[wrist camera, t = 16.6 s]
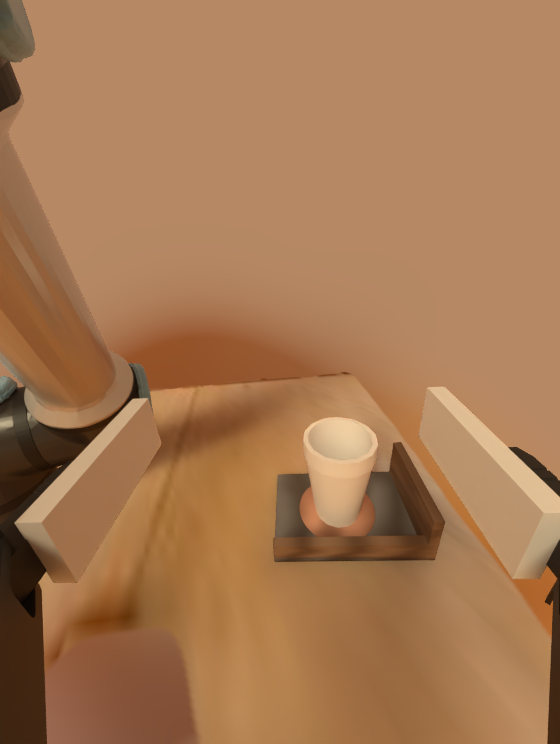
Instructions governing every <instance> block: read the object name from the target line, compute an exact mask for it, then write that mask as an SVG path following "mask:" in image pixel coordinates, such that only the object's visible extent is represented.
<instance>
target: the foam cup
mask: <svg viewBox="0 0 560 744" xmlns="http://www.w3.org/2000/svg"><path fill="white" fill-rule="evenodd" d="M303 447H304V457H305V459H306V462H307V467H308V472H309V478H310V483H311V488H312V493H313V498H314V503H315V508H316V512H317V514H318V516H319V518H320V519H321V520H322V521H324V522H325V523H326V524H327V525H330V526H334V527H337V528H340V527H348V526H350V525H351V524H353V523H354V522H356V519H357V517H358V515H359V512H360V509H361V506H362V503H363V499H364V496H365V492H366V489H367V485H368V482H369V478H370V475H371V471H372V468H373V466H374V464H375V462H376V460H377V451H378V442H377V438H376V434H375V433H374V432H373V431H372V430H371V429H370V428H369V427H368V426H367V425H365V424H362V423H360V422H358V421H356V420H353V419H348V418H341V417H333V418H324V419H321V420H319V421H316V422H314V423H312V424H311V425H310V426H309V427H308V428H307V429H306V430H305V431H304V440H303Z"/></svg>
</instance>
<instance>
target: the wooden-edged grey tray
mask: <svg viewBox="0 0 560 744" xmlns="http://www.w3.org/2000/svg"><path fill="white" fill-rule="evenodd" d="M444 524H445V521H444V519H443V517H442V515H441V514H440V512H439V510H438V508H437V506H436V505H435V503H434V501H433V499H432V497H431V496H430V494H429V492H428V490H427V488H426V486H425V485H424V483H423V481H422V479H421V477H420V476H419V474H418V472H417V470H416V468H415V467H414V465H413V463H412V461H411V459H410V458H409V456H408V454H407V452H406V450H405V448H404V447H403V445H402V443H401V442H398V443H393V450H392V458H391V465H390V472H371V475H370V478H369V482H368V485H367V489H366V492H365V496H364V499H363V503H362V506H361V509H360V512H359V515H358V517H357V519H356V522H354V523H353V524H351V525H350V526H348V527H340V528H337V527H334V526H330V525H327V524H326V523H325V522H324V521H322V520H321V519H320V518H319V516H318V514H317V512H316V508H315V503H314V498H313V493H312V488H311V483H310V478H309V474H286V475H278V482H277V506H276V530H275V538H274V540H273V550H274V559H275V562H297V561H383V560H435V557H436V553H437V550H438V546H439V542H440V539H441V535H442V531H443V528H444Z"/></svg>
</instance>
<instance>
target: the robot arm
mask: <svg viewBox="0 0 560 744" xmlns="http://www.w3.org/2000/svg"><path fill="white" fill-rule="evenodd" d="M34 50H35V43H34V38H33V35H32V30H31V27H30V24H29V20H28V17H27V14H26V11H25V8H24V6H23V3H22V0H0V362H1V363H2V364H3V365H4V366H5V367H6V368H7V369H8V370H9V371H10V372H11V373H12V374H13V375H14V376H15V377H16V378H17V379H18V380H19V381H20V382H21V383H22V384H23V385H24V386H25V387H17V383H16V382H15V381H13V380H12V379H11V378H10V377H6V376H2V377H0V744H47V735H46V705H45V675H44V646H43V617H42V590H41V588H40V585H39V584H38V582H39V581H40V579H41V578H42V576H43V575H44V574H45V572H47V573H48V575H49V576H50V578H51V579H52V581H53V582H54V583H77V582H78V581H79V579H80V578H81V576H82V574H83V573H84V571H85V569H86V568H87V566H88V564H89V563H90V561H91V559H92V558H93V556H94V555H95V553H96V551H97V550H98V548H99V546H100V545H101V543H102V541H103V540H104V538H105V536H106V535H107V533H108V531H109V530H110V528H111V527H112V525H113V523H114V522H115V520H116V518H117V517H118V515H119V513H120V512H121V510H122V508H123V507H124V505H125V504H126V502H127V500H128V499H129V497H130V495H131V494H132V492H133V490H134V489H135V487H136V485H137V484H138V482H139V480H140V479H141V477H142V476H143V474H144V472H145V471H146V469H147V467H148V466H149V464H150V462H151V461H152V459H153V457H154V456H155V454H156V453H157V451H158V449H159V448H160V446H161V444H162V443H161V440H160V436H159V433H158V430H157V426H156V423H155V419H154V415H153V410H152V404H151V396H150V391H149V386H148V382H147V378H146V374H145V371H144V368H143V366H141V365H140V364H132V363H130V364H128V363H127V361H125V359H124V358H122V357H121V356H119V355H118V354H116V353H114V352H112V351H109V350H108V349H107V347H106V345H105V342H104V340H103V338H102V336H101V334H100V331H99V329H98V327H97V325H96V323H95V321H94V319H93V316H92V314H91V312H90V310H89V308H88V306H87V304H86V301H85V299H84V297H83V295H82V293H81V291H80V289H79V286H78V284H77V282H76V280H75V278H74V276H73V273H72V271H71V269H70V267H69V265H68V263H67V260H66V258H65V256H64V254H63V252H62V250H61V247H60V245H59V243H58V241H57V239H56V237H55V235H54V233H53V230H52V228H51V226H50V224H49V222H48V220H47V217H46V215H45V213H44V211H43V209H42V207H41V204H40V202H39V200H38V198H37V196H36V194H35V191H34V189H33V188H32V185H31V183H30V181H29V179H28V176H27V174H26V172H25V170H24V168H23V166H22V163H21V161H20V159H19V157H18V155H17V153H16V150H15V148H14V146H13V144H12V142H11V140H10V138H9V133H8V131H9V129H10V127H11V125H12V124H13V122H14V120H15V118H16V117H17V115H18V113H19V111H20V110H21V107H22V105H23V102H24V99H23V94H22V92H21V90H20V87H19V84H18V82H17V79H16V77H15V74H14V72H13V69H12V67H11V64H10V62H21V61H22V60H23V58H27V57H30V56H32V55H33V53H34ZM419 437H420V439H421V440H422V442H423V443H424V445H425V447H426V448H427V450H428V451H429V453H430V454H431V456H432V457H433V459H434V460H435V462H436V463H437V465H438V466H439V468H440V469H441V471H442V472H443V474H444V475H445V477H446V478H447V480H448V481H449V483H450V485H451V486H452V488H453V489H454V491H455V492H456V494H457V495H458V497H459V498H460V500H461V501H462V503H463V504H464V506H465V507H466V509H467V510H468V512H469V514H470V515H471V516H472V518H473V520H474V521H475V523H476V524H477V526H478V527H479V529H480V530H481V531H482V533H483V535H484V536H485V538H486V539H487V541H488V542H489V544H490V545H491V547H492V549H493V550H494V552H495V553H496V555H497V556H498V558H499V559H500V561H501V562H502V564H503V565H504V567H505V568H506V570H507V571H508V573H509V574H510V576H511V577H512V579H540V578H541V575H542V573H543V572H544V570H545V568H546V566H548V567H549V568H550V570H551V571H552V572H553V573H554V575H555V576H556V577H557V578H558V579H557V581H556V582H555V584H554V586H553V587H552V589H551V591H550V592H549V594H548V596H547V598H546V600H545V603H547V604H549V605H550V604H551V602H552V601H553V621H552V644H551V669H550V693H549V718H548V743H547V744H560V481H558V479H557V477H556V476H555V475H553V474H552V473H551V472H550V471H547V469H546V467H545V466H543V465H542V464H541V463H540V462H539V461H538V460H536V458H534V457H533V456H531V455H530V454H528V453H526V452H524V451H523V450H521V449H519V448H517V447H507V446H506V445H505V444H504V443H503V442H502V441H501V440H499V439H498V438H497V437H496V436H495V435H494V434H493V433H492V432H491V431H490V430H489V429H488V428H487V427H486V426H485V425H484V424H483V423H482V422H481V421H480V420H479V419H477V417H475V416H474V415H473V414H472V413H471V412H470V411H469V410H468V409H467V408H466V407H465V406H464V405H463V404H462V403H461V402H460V401H459V400H458V399H457V398H456V397H455V396H454V395H452V394H451V393H450V392H449V391H448V390H447V389H446V388H445V387H428V388H427V392H426V398H425V403H424V409H423V414H422V420H421V425H420V431H419ZM61 465H62V466H61ZM58 466H61V467H59V468H57V467H58Z"/></svg>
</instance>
